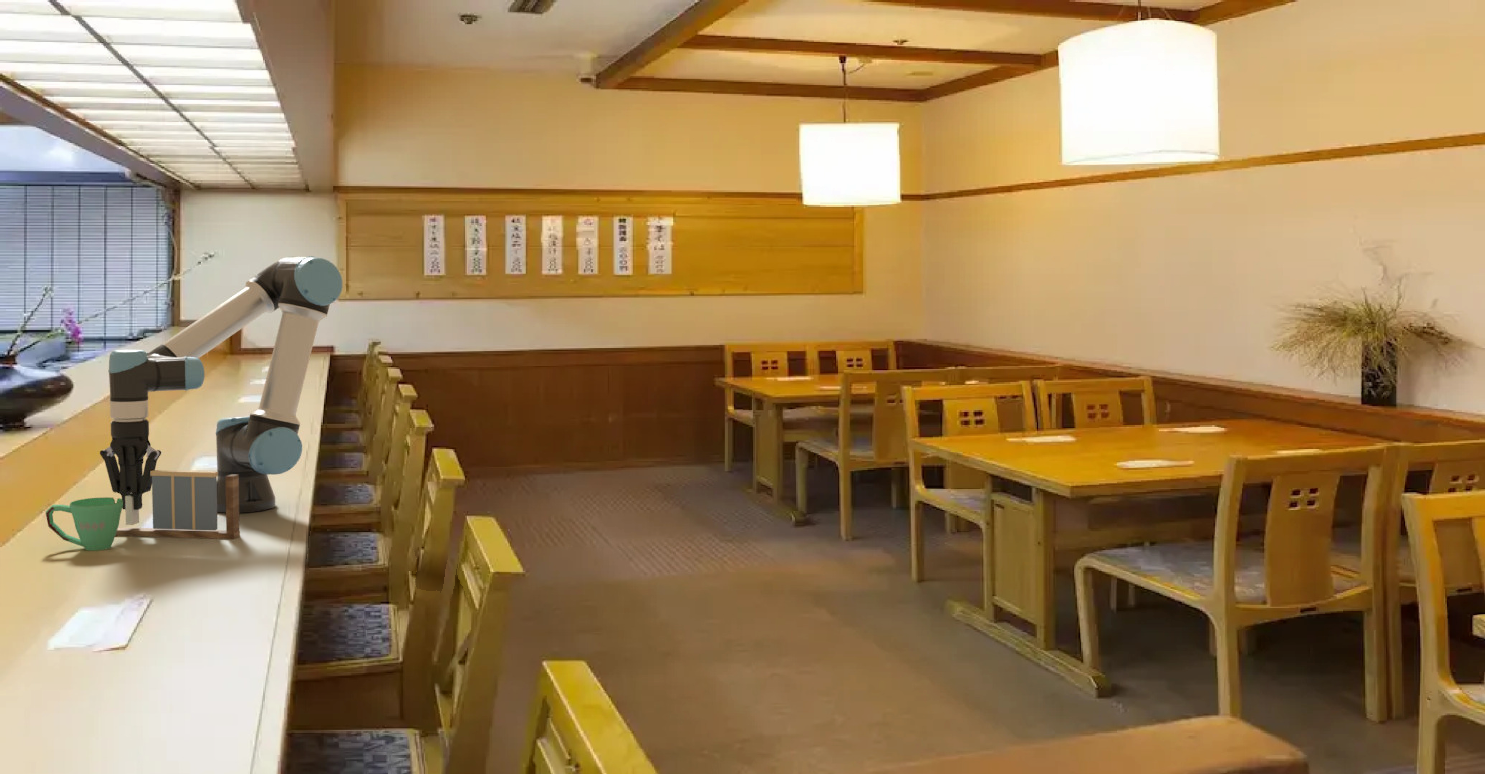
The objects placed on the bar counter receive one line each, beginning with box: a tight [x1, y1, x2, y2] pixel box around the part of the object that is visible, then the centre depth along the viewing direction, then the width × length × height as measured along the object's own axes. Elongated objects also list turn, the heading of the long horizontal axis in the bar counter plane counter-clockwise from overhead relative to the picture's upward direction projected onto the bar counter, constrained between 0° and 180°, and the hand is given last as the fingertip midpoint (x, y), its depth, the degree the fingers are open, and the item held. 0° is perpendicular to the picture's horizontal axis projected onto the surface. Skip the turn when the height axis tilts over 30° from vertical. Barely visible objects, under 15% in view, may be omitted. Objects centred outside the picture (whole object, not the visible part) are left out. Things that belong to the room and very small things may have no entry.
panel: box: [150, 469, 218, 530], centre depth 259 cm, size 14×2×13 cm, turn 88°
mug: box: [45, 496, 123, 552], centre depth 245 cm, size 15×10×10 cm
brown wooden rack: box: [115, 474, 241, 540], centre depth 259 cm, size 31×3×14 cm, turn 88°
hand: (132, 523), depth 260 cm, fingers closed
